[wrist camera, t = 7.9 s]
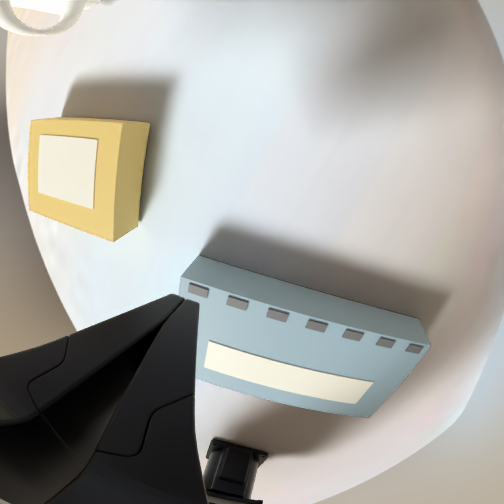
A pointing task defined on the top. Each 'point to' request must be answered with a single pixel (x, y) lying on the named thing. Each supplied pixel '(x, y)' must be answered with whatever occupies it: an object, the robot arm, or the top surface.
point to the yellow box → (87, 173)
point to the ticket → (298, 341)
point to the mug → (62, 3)
